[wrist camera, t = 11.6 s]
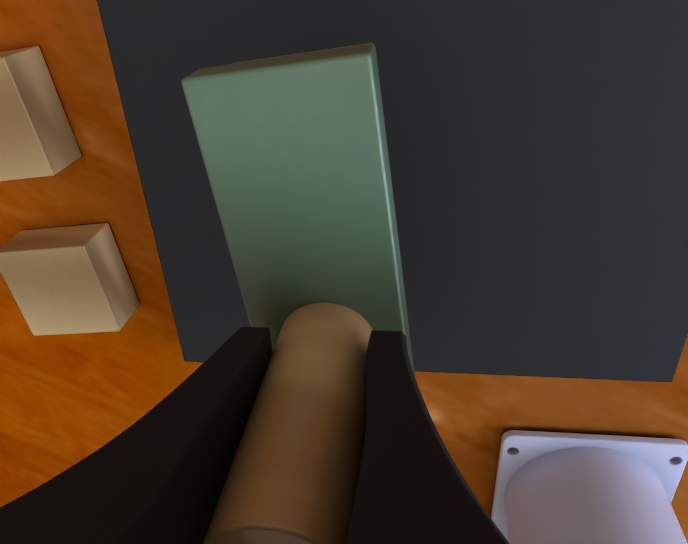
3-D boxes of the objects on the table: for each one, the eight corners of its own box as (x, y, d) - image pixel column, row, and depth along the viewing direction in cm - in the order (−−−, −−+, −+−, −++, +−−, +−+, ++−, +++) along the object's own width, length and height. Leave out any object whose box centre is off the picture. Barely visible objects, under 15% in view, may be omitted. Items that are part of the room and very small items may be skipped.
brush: (428, 445, 18) (429, 769, 11) (317, 447, 18) (252, 753, 11) (380, 30, 12) (318, 164, 5) (220, 54, 12) (-30, 201, 6)
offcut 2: (140, 304, 25) (119, 331, 23) (58, 309, 26) (33, 336, 24) (108, 222, 23) (83, 245, 21) (20, 229, 24) (-10, 253, 22)
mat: (661, 363, 23) (672, 382, 22) (193, 345, 26) (183, 362, 25) (804, -103, 15) (831, -105, 14) (100, -64, 18) (80, -64, 17)
